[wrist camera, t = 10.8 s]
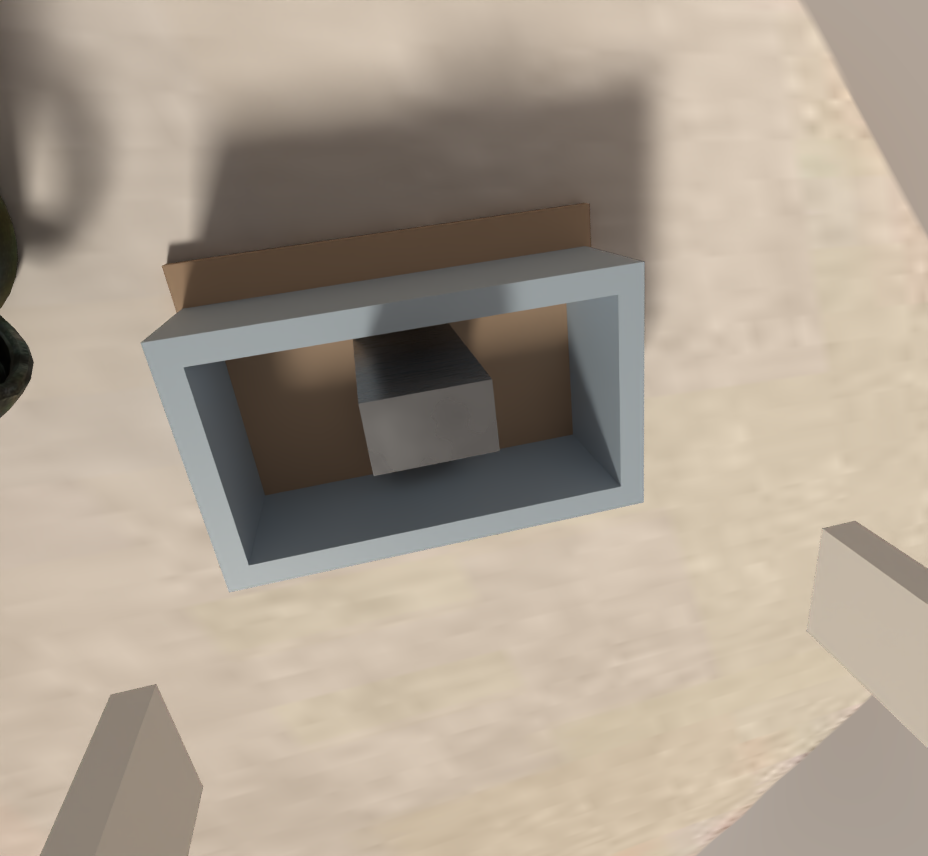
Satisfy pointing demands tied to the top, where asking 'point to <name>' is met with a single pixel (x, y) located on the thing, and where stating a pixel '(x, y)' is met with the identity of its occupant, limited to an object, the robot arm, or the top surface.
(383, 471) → the brushed grey block
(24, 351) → the mug
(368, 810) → the top surface
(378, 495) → the box
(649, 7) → the top surface
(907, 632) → the robot arm
